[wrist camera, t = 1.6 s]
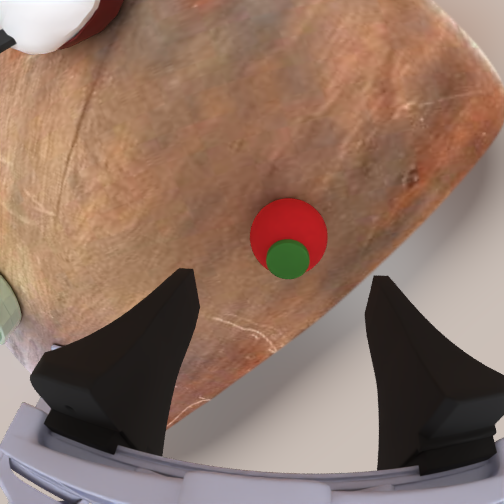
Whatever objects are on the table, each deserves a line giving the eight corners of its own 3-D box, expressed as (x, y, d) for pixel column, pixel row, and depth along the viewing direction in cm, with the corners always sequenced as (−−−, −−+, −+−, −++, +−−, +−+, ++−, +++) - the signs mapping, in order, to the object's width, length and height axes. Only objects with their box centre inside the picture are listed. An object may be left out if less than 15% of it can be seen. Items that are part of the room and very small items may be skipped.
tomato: (321, 250, 19) (326, 296, 15) (255, 248, 19) (246, 294, 16) (326, 188, 17) (335, 224, 13) (253, 186, 17) (242, 221, 14)
